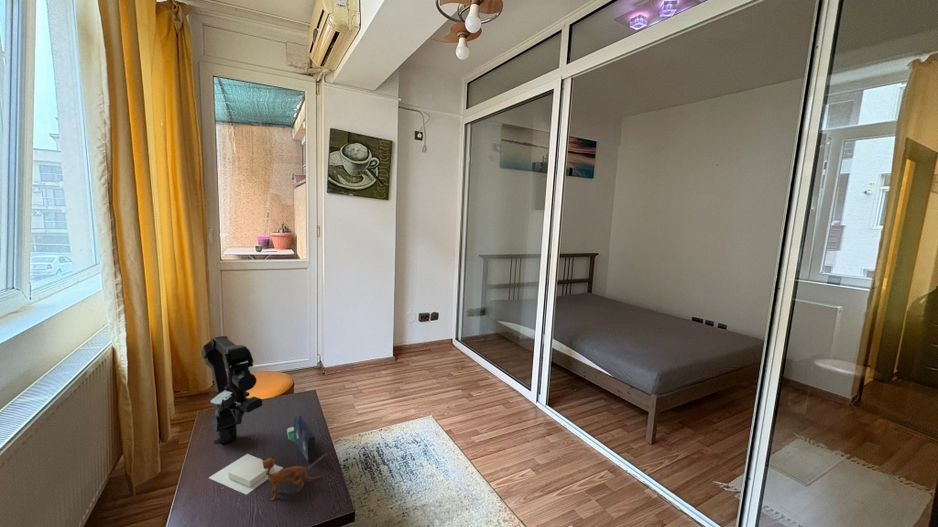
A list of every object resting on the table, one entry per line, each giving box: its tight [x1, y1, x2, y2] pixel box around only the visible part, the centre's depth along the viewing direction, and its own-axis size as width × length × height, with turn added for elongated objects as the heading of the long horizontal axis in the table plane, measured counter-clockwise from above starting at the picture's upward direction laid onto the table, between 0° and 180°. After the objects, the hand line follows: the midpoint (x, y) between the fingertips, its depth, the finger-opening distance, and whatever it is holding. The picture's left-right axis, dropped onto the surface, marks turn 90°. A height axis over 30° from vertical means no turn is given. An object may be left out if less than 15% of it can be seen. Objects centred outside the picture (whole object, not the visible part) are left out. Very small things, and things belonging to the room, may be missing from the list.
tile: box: [228, 456, 274, 487], centre depth 124 cm, size 2×9×10 cm
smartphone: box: [286, 426, 296, 443], centre depth 148 cm, size 7×1×15 cm
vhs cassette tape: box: [293, 414, 316, 463], centre depth 139 cm, size 18×3×10 cm, turn 39°
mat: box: [208, 453, 284, 496], centre depth 125 cm, size 18×14×1 cm
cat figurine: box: [262, 453, 322, 502], centre depth 119 cm, size 18×7×14 cm, turn 128°
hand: (238, 421), depth 133 cm, fingers closed
